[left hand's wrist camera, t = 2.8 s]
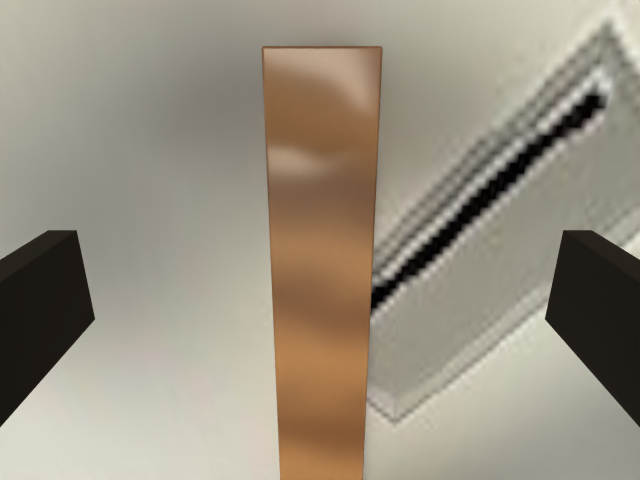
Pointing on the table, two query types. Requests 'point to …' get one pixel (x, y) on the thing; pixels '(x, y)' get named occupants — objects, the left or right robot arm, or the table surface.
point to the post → (321, 249)
